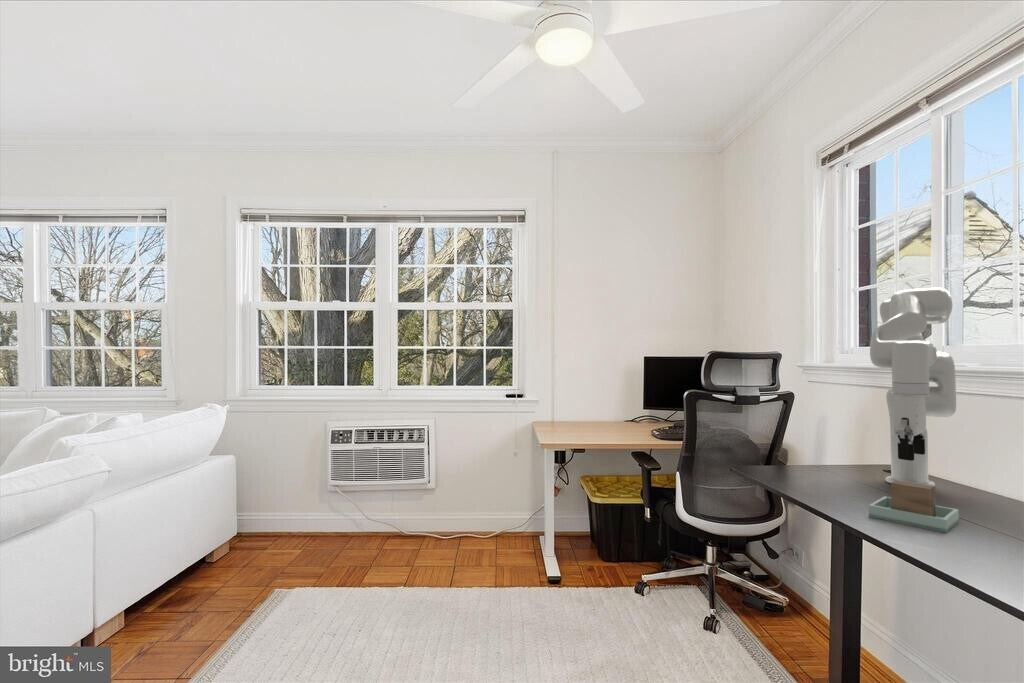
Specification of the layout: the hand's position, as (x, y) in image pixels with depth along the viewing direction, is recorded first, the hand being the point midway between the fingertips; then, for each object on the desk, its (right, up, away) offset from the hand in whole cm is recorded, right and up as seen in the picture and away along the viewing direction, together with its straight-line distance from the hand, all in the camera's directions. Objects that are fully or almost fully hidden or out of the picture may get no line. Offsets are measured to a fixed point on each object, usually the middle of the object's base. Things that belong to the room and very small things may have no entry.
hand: (911, 456), depth 132 cm
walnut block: (0, -15, -1) cm, 15 cm away
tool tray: (0, -16, -1) cm, 16 cm away
